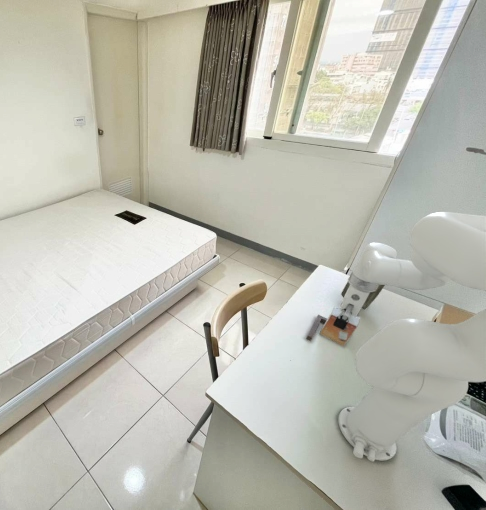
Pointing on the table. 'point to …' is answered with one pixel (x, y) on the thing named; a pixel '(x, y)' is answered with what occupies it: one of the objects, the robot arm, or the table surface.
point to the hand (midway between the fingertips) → (341, 319)
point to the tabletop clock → (370, 297)
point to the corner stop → (315, 325)
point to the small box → (337, 333)
